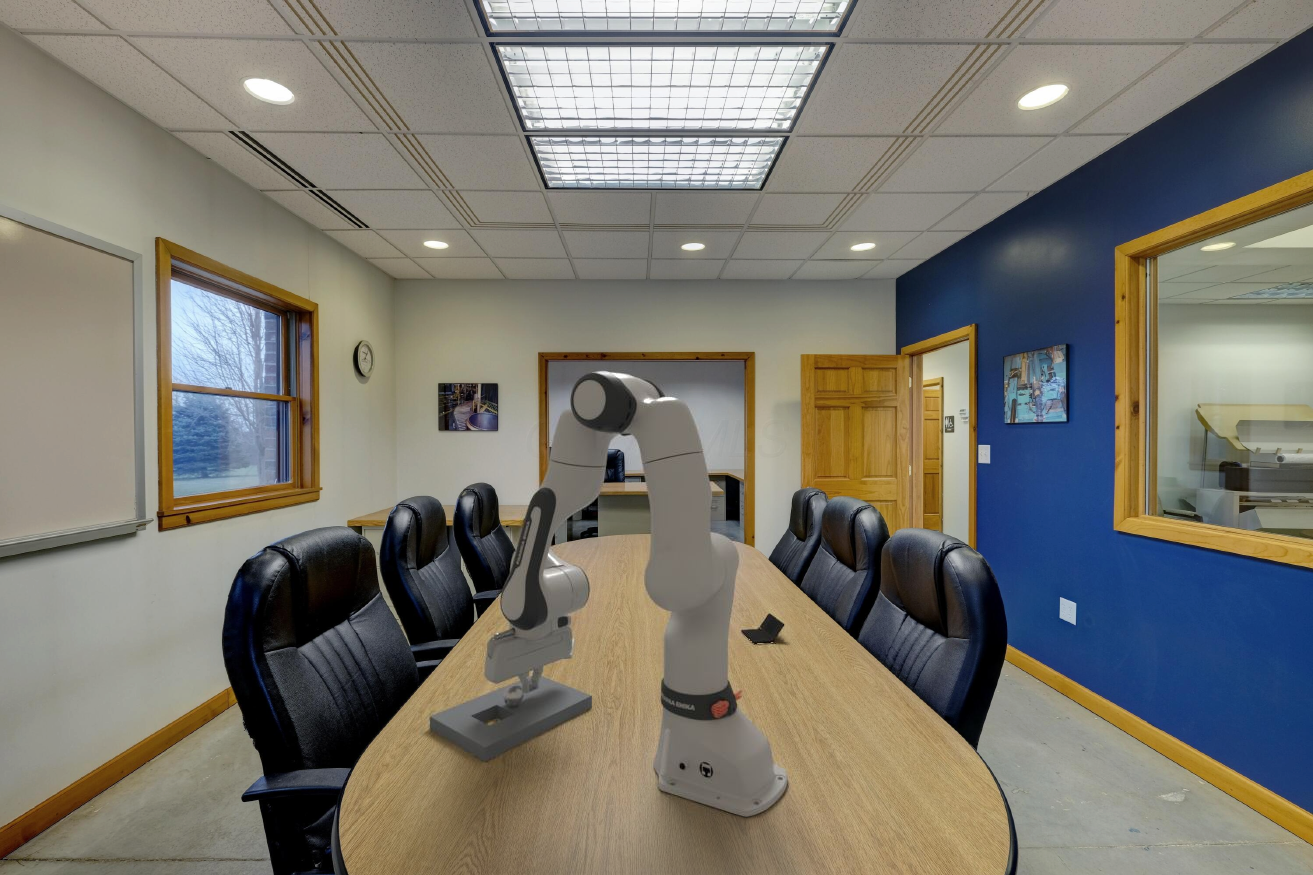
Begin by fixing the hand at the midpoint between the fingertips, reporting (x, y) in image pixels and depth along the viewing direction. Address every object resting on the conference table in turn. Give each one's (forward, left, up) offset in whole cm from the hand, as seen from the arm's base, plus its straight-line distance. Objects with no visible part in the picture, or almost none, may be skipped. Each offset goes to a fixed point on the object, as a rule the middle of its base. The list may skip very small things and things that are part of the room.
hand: (530, 690), depth 115 cm
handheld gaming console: (-16, -71, -5) cm, 73 cm away
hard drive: (+22, -27, -5) cm, 35 cm away
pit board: (0, +4, -4) cm, 6 cm away
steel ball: (0, +4, 0) cm, 4 cm away
